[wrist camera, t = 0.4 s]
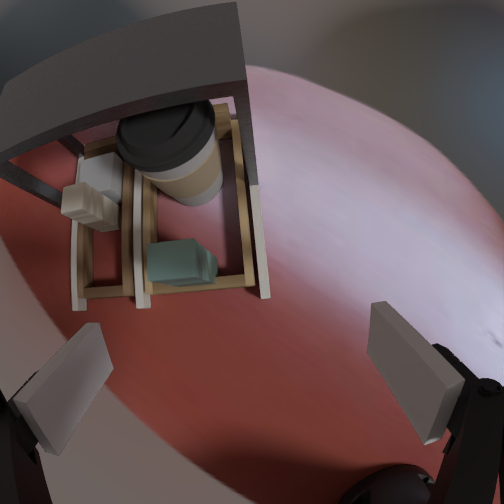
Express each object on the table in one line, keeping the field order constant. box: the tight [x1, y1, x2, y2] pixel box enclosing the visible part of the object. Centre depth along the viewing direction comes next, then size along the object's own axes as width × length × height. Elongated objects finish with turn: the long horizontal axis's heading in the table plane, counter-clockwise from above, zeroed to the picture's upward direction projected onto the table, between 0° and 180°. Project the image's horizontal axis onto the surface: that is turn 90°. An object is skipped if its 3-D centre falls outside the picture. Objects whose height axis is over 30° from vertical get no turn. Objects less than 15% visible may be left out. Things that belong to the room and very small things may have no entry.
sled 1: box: [61, 136, 136, 299], centre depth 31 cm, size 20×8×9 cm, turn 6°
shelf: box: [0, 2, 258, 209], centre depth 27 cm, size 10×24×20 cm, turn 96°
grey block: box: [79, 152, 124, 204], centre depth 34 cm, size 5×5×5 cm
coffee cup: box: [116, 100, 223, 206], centre depth 28 cm, size 9×9×15 cm
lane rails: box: [71, 145, 271, 311], centre depth 34 cm, size 23×24×2 cm
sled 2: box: [143, 103, 256, 295], centre depth 30 cm, size 20×12×11 cm, turn 6°
